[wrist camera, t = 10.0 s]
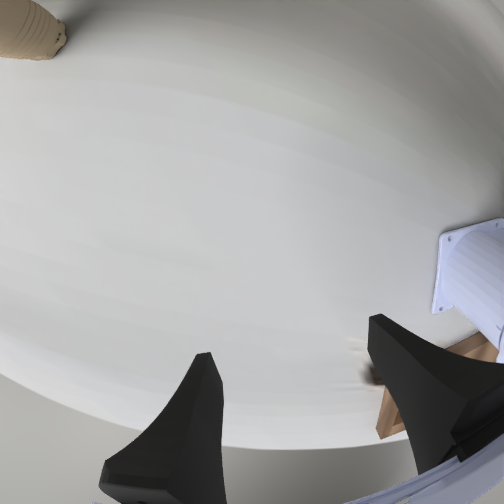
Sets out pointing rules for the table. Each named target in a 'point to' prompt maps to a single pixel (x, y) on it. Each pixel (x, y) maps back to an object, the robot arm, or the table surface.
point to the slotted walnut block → (469, 348)
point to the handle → (29, 31)
